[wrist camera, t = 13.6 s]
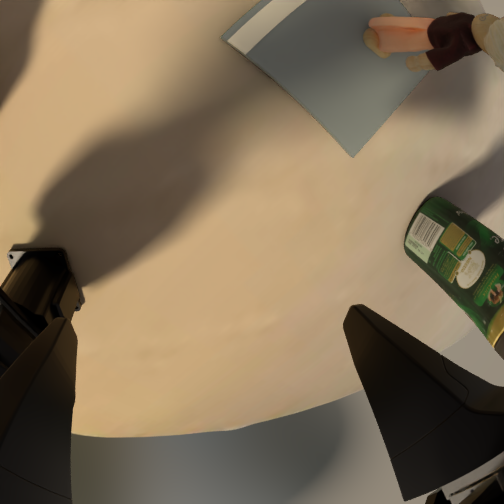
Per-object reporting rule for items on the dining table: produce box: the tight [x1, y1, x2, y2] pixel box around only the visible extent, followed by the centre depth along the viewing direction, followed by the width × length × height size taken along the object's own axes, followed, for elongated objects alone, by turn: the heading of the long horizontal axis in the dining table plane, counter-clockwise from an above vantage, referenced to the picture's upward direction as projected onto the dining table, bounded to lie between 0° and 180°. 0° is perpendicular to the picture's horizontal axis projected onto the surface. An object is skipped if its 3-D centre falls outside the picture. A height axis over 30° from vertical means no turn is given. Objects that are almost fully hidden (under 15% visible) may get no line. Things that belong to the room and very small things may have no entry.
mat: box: [220, 0, 429, 158], centre depth 14 cm, size 13×14×1 cm
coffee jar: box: [404, 197, 504, 359], centre depth 19 cm, size 10×8×19 cm
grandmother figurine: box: [363, 12, 504, 72], centre depth 9 cm, size 8×4×13 cm, turn 150°
